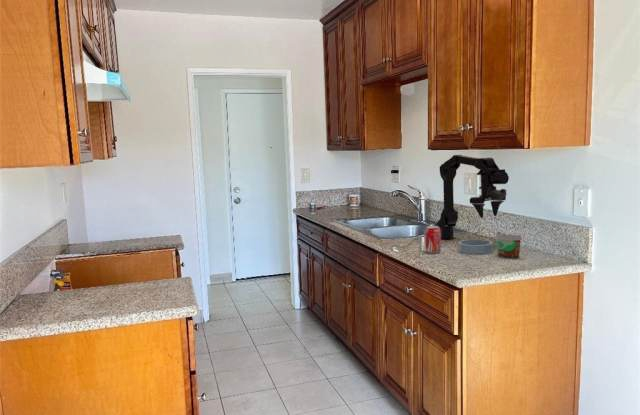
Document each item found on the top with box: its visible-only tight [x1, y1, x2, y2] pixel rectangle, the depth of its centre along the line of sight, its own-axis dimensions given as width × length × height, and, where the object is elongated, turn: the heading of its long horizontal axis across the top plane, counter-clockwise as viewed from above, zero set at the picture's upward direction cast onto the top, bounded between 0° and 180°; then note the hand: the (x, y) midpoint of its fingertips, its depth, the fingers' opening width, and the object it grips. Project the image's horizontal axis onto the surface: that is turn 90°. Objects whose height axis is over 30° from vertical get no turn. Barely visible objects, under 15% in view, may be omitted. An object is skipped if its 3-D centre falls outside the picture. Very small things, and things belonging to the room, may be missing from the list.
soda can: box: [424, 225, 442, 254], centre depth 228 cm, size 7×7×12 cm
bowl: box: [457, 238, 493, 256], centre depth 227 cm, size 15×15×4 cm
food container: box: [494, 231, 523, 259], centre depth 214 cm, size 12×6×10 cm, turn 27°
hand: (488, 216), depth 234 cm, fingers open, 9 cm apart
